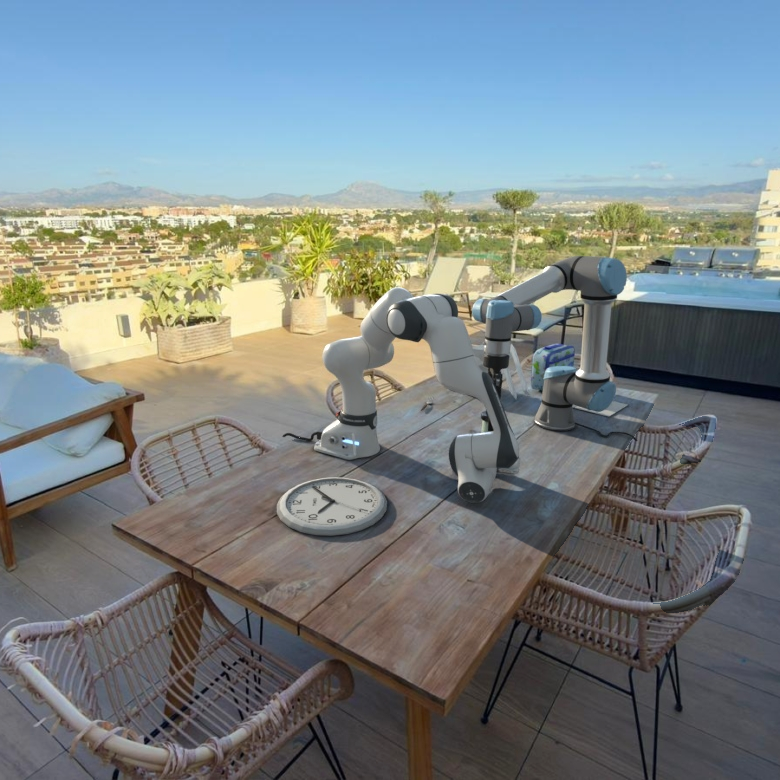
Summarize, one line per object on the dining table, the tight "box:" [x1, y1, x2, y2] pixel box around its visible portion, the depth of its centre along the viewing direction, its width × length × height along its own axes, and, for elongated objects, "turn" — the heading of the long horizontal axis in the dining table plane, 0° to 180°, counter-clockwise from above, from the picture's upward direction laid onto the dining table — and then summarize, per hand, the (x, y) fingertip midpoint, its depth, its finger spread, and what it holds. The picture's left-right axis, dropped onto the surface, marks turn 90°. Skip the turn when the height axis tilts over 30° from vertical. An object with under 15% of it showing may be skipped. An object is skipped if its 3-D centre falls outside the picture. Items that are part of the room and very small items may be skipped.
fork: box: [420, 396, 435, 411], centre depth 223 cm, size 3×16×2 cm, turn 160°
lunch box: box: [530, 343, 576, 391], centre depth 249 cm, size 26×11×21 cm, turn 134°
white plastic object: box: [472, 343, 531, 400], centre depth 245 cm, size 37×45×31 cm
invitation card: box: [573, 400, 629, 418], centre depth 226 cm, size 21×1×15 cm
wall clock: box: [276, 476, 388, 537], centre depth 142 cm, size 30×2×30 cm
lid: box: [480, 410, 489, 422], centre depth 160 cm, size 6×6×2 cm
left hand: (489, 450), depth 164 cm, fingers closed on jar, 5 cm apart
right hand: (490, 426), depth 161 cm, fingers closed on lid, 6 cm apart
